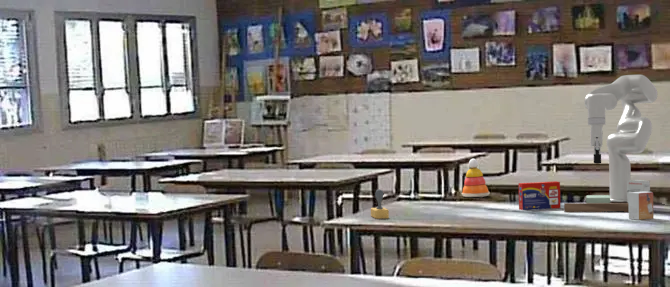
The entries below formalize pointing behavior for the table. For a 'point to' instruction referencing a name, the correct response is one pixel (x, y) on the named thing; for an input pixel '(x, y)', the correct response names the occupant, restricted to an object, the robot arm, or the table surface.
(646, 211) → the small box
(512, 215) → the table surface
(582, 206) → the walnut board
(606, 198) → the green block
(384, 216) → the rubber stamp
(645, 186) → the ink box
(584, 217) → the table surface
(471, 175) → the stacking toy
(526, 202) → the toy box
